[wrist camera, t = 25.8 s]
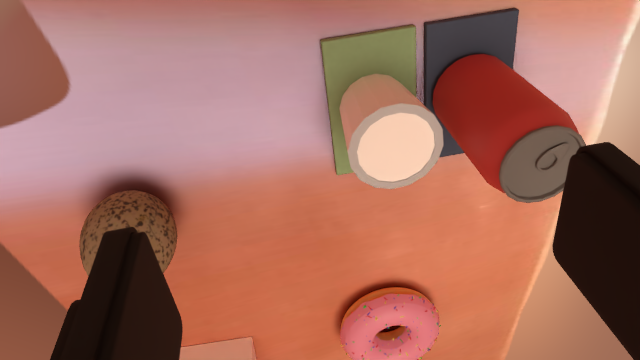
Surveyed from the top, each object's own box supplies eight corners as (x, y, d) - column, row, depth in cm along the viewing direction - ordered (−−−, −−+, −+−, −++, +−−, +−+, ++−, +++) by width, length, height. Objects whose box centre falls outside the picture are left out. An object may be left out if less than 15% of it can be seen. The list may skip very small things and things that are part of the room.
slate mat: (423, 22, 38) (426, 24, 37) (515, 7, 38) (519, 9, 38) (423, 156, 44) (425, 159, 44) (501, 142, 45) (504, 145, 44)
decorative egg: (177, 171, 42) (163, 250, 34) (184, 236, 46) (173, 322, 37) (87, 172, 41) (49, 254, 32) (102, 240, 45) (72, 328, 36)
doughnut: (324, 343, 57) (330, 375, 53) (355, 273, 51) (364, 303, 48) (410, 350, 60) (421, 381, 56) (448, 285, 54) (463, 314, 51)
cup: (353, 53, 38) (374, 90, 32) (429, 82, 40) (462, 121, 34) (318, 130, 41) (332, 176, 35) (391, 152, 43) (415, 199, 37)
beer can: (523, 84, 41) (614, 158, 31) (462, 140, 43) (529, 225, 33) (476, 33, 38) (560, 98, 28) (413, 96, 40) (471, 176, 30)
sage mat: (320, 39, 37) (321, 41, 37) (413, 24, 38) (416, 26, 37) (335, 171, 44) (337, 175, 44) (415, 157, 44) (417, 161, 44)
